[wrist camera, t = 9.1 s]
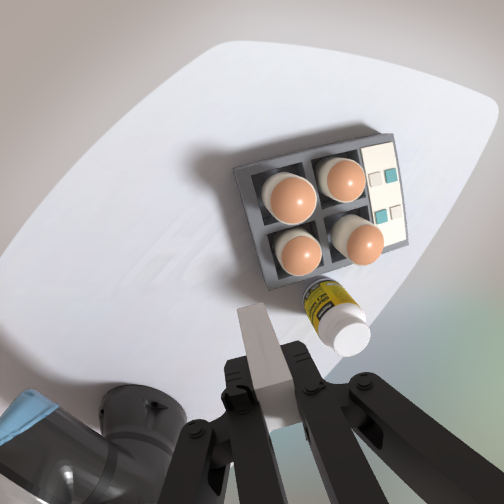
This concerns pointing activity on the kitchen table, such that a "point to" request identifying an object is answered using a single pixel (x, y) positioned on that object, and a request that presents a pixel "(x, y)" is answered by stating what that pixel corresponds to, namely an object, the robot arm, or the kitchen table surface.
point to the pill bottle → (336, 317)
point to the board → (331, 202)
